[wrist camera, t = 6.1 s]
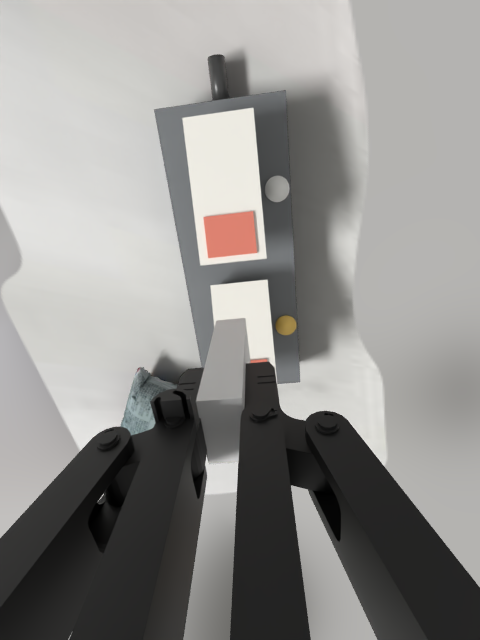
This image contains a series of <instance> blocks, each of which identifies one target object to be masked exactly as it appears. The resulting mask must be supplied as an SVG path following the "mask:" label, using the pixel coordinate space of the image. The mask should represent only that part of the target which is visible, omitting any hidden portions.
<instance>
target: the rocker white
mask: <svg viewBox="0 0 480 640" xmlns="http://www.w3.org/2000/svg"><path fill="white" fill-rule="evenodd" d="M182 120H183V128H184V136H185V144H186V153H187V161H188V169H189V177H190V185H191V194H192V202H193V210H194V218H195V226H196V234H197V243H198V251H199V259H200V265H213V264H222V263H232V262H241V261H251V260H260V259H267V255H266V244H265V232H264V221H263V210H262V199H261V187H260V176H259V165H258V154H257V142H256V131H255V120H254V108H248V109H241V110H234V111H227V112H220V113H213V114H206V115H199V116H192V117H185V118H182Z"/></svg>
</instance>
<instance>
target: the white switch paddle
mask: <svg viewBox="0 0 480 640" xmlns="http://www.w3.org/2000/svg"><path fill="white" fill-rule="evenodd" d="M210 287H211V298H212V309H213V319H214V327H215V324H216V321H217V320H227V319H238V318H245V319H246V327H247V336H248V344H249V353H250V361H251V363H257V362H270V363H271V364H272V365H273V366H274V367H275V374H276V365H275V355H274V344H273V333H272V322H271V312H270V301H269V290H268V280H258V281H249V282H239V283H229V284H219V285H210ZM276 382H277V376H276ZM277 389H278V387H277Z"/></svg>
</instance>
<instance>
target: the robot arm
mask: <svg viewBox="0 0 480 640" xmlns="http://www.w3.org/2000/svg"><path fill="white" fill-rule="evenodd" d="M150 404H151V408H152V411H153V415H154V419H155V425H154V427H153V428H152V429H150V430H147V431H144V432H141V433H138V434H134V435H131V434H130V432H129V430H128V429H127V428H124V427H112V428H109V429H106V430H104V431H102V432H100V433H98V434H97V435H96V436H95V437H93V438H92V439H91V440H90V441H89V442H88V444H87V445H86V446H85V447H84V448H83V449H82V450H81V451H80V452H79V453H78V454H77V456H76V457H75V458H74V459H73V460H72V461H71V462H70V463H69V464H68V465H67V466H66V468H65V469H64V470H63V471H62V472H61V473H60V474H59V475H58V476H57V477H56V478H55V479H54V481H53V482H52V483H51V484H50V485H49V486H48V487H47V488H46V489H45V490H44V491H43V493H42V494H41V495H40V496H39V497H38V498H37V499H36V500H35V501H34V502H33V503H32V505H31V506H30V507H29V508H28V509H27V510H26V511H25V513H23V514H22V515H21V516H20V518H19V519H18V520H17V521H16V522H15V523H14V524H13V525H12V526H11V527H10V528H9V530H8V531H7V532H6V533H5V534H4V535H3V536H2V537H1V538H0V640H68V638H69V636H70V635H71V637H70V639H69V640H183V637H184V630H185V623H186V616H187V610H188V603H189V596H190V589H191V582H192V575H193V569H194V562H195V555H196V548H197V541H198V535H199V528H200V521H201V514H202V507H203V500H204V494H205V487H206V480H207V473H206V467H205V461H206V455H207V458H208V463H209V464H219V463H236V462H239V463H238V484H237V506H236V526H235V547H234V568H233V569H234V570H233V589H232V610H231V631H230V634H231V635H230V640H311V639H310V631H309V624H308V616H307V608H306V601H305V592H304V585H303V577H302V569H301V562H300V554H299V546H298V538H297V531H296V523H295V515H294V507H293V500H292V492H291V485H293V486H297V487H301V488H305V489H308V491H309V494H310V496H311V498H312V500H313V503H314V505H315V507H316V509H317V511H318V513H319V515H320V518H321V520H322V522H323V524H324V526H325V528H326V530H327V533H328V535H329V537H330V539H331V541H332V543H333V545H334V548H335V550H336V552H337V554H338V556H339V558H340V560H341V562H342V565H343V567H344V569H345V571H346V573H347V575H348V577H349V580H350V582H351V584H352V586H353V588H354V590H355V592H356V594H357V596H358V599H359V601H360V603H361V605H362V607H363V610H364V612H365V614H366V616H367V618H368V620H369V622H370V624H371V626H372V629H373V631H374V633H375V635H376V637H377V639H378V640H480V587H479V586H478V585H477V584H476V582H475V581H474V580H473V579H472V577H471V576H470V575H469V573H468V572H467V571H466V570H465V569H464V567H463V566H462V565H461V563H460V562H459V561H458V560H457V559H456V557H455V556H454V554H453V553H452V552H451V551H450V549H449V548H448V547H447V546H446V545H445V543H444V542H443V541H442V539H441V538H440V537H439V536H438V534H437V533H436V532H435V530H434V529H433V528H432V527H431V526H430V524H429V523H428V522H427V520H426V519H425V518H424V516H423V515H422V514H421V513H420V512H419V510H418V509H417V508H416V506H415V505H414V504H413V503H412V501H411V500H410V499H409V497H408V496H407V495H406V494H405V493H404V491H403V490H402V489H401V487H400V486H399V485H398V484H397V482H396V481H395V480H394V478H393V477H392V476H391V475H390V473H389V472H388V471H387V470H386V468H385V467H384V466H383V465H382V463H381V462H380V461H379V459H378V458H377V457H376V456H375V454H374V453H373V452H372V451H371V449H370V448H369V447H368V446H367V444H366V443H365V442H364V440H363V439H362V438H361V437H360V435H359V434H358V433H357V432H356V430H355V429H354V428H353V427H352V425H351V424H350V423H349V421H348V420H347V419H345V418H344V417H343V416H342V415H340V414H337V413H335V412H330V411H320V412H316V413H313V414H311V415H310V416H309V417H308V418H307V419H306V421H304V420H298V419H294V418H292V417H289V416H287V415H286V414H285V413H284V412H283V411H282V410H281V408H280V404H279V397H278V389H277V382H276V374H275V367H274V366H273V365H272V364H271V363H270V362H257V363H251V361H250V353H249V344H248V336H247V327H246V319H245V318H238V319H227V320H217V321H216V324H215V327H214V331H213V335H212V339H211V343H210V347H209V351H208V355H207V359H206V363H205V367H204V368H195V369H188V370H187V371H185V372H184V373H183V374H182V375H181V377H180V380H179V382H178V385H177V388H176V389H175V388H174V389H169V390H166V391H163V392H161V393H159V394H157V395H156V396H155V397H153V399H152V400H151V401H150ZM103 493H104V495H103ZM102 495H103V497H102V498H101V499H100V497H101V496H102ZM99 499H100V500H99ZM98 500H99V501H98ZM72 631H73V632H72ZM71 633H72V634H71Z"/></svg>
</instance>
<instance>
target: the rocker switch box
mask: <svg viewBox="0 0 480 640" xmlns="http://www.w3.org/2000/svg"><path fill="white" fill-rule="evenodd" d="M208 66H209V74H210V82H211V90H212V98H213V101H208V102H201V103H195V104H188V105H181V106H174V107H167V108H160V109H154V112H155V117H156V123H157V128H158V133H159V139H160V144H161V150H162V155H163V160H164V166H165V171H166V177H167V182H168V187H169V193H170V198H171V204H172V209H173V214H174V220H175V225H176V231H177V236H178V241H179V247H180V252H181V258H182V263H183V268H184V274H185V279H186V285H187V290H188V295H189V301H190V306H191V312H192V317H193V322H194V328H195V333H196V339H197V344H198V349H199V355H200V360H201V366H202V368H204V367H205V363H206V359H207V355H208V351H209V347H210V343H211V339H212V335H213V331H214V319H213V309H212V298H211V287H210V285H219V284H229V283H239V282H249V281H258V280H268V290H269V301H270V312H271V322H272V333H273V344H274V355H275V365H276V376H277V384H283V383H296V382H300V367H299V347H298V327H297V307H296V286H295V266H294V246H293V226H292V206H291V185H290V165H289V145H288V125H287V104H286V90H284V91H277V92H270V93H263V94H256V95H250V96H243V97H236V98H229V94H228V85H227V76H226V66H225V57H224V56H223V55H212V56H210V57H208ZM248 108H254V120H255V131H256V142H257V154H258V165H259V176H260V187H261V199H262V210H263V221H264V232H265V244H266V255H267V259H260V260H251V261H241V262H232V263H222V264H213V265H200V259H199V251H198V243H197V234H196V226H195V218H194V210H193V202H192V194H191V185H190V177H189V169H188V161H187V153H186V144H185V136H184V128H183V120H182V118H185V117H192V116H199V115H206V114H213V113H220V112H227V111H234V110H241V109H248Z"/></svg>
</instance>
